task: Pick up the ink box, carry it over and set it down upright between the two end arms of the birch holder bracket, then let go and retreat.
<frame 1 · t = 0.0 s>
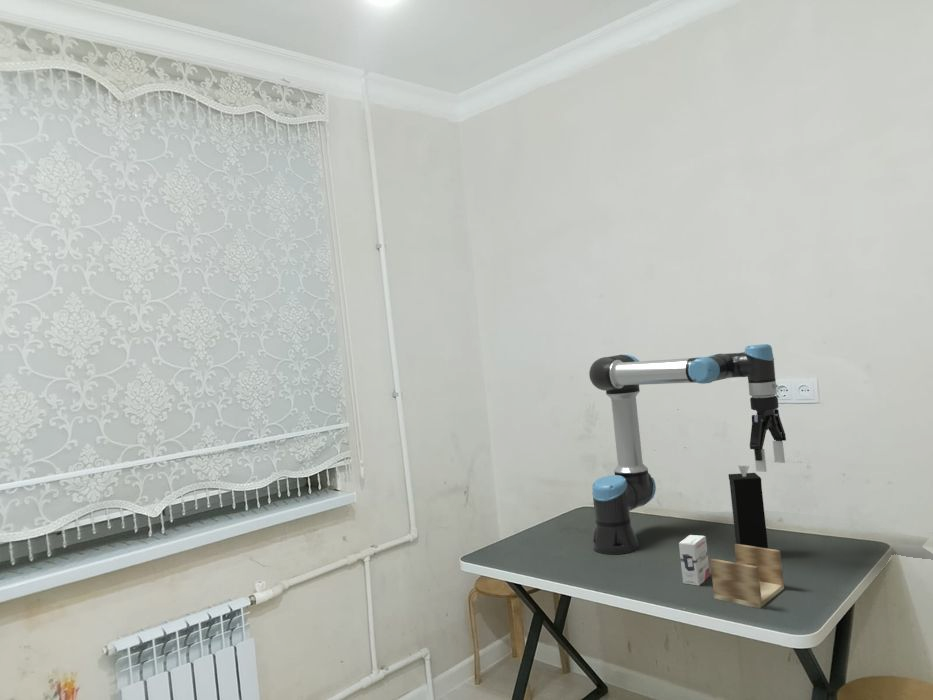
hand: (770, 466, 192), 28 cm above the table, fingers open, 13 cm apart
ink box: (696, 580, 184), on the table
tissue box: (752, 556, 198), on the table
holder: (749, 593, 171), on the table
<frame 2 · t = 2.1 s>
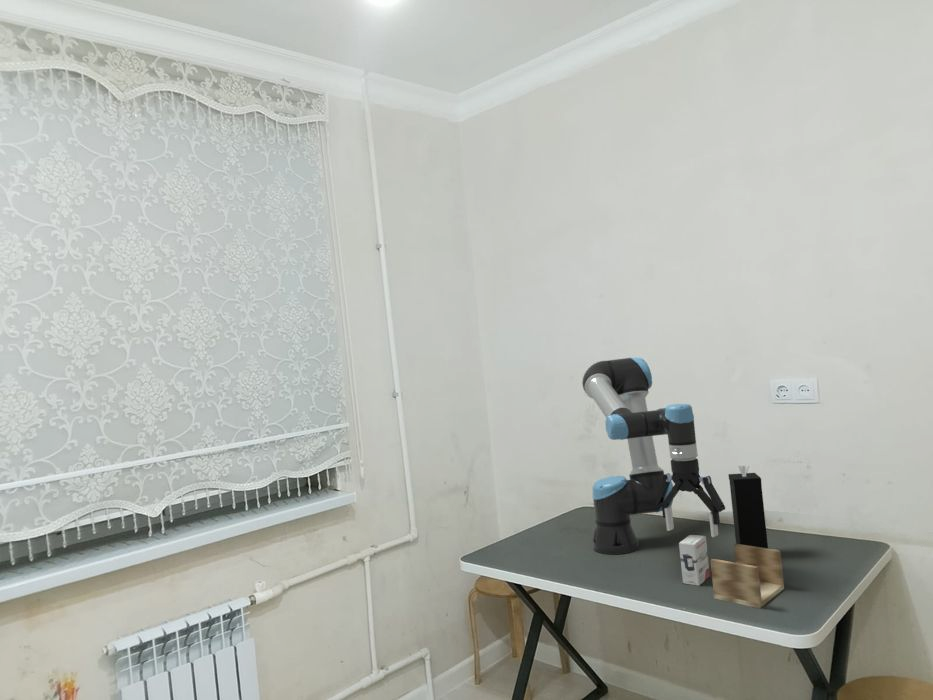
hand: (692, 532, 184), 14 cm above the table, fingers open, 13 cm apart
nothing on the table moved.
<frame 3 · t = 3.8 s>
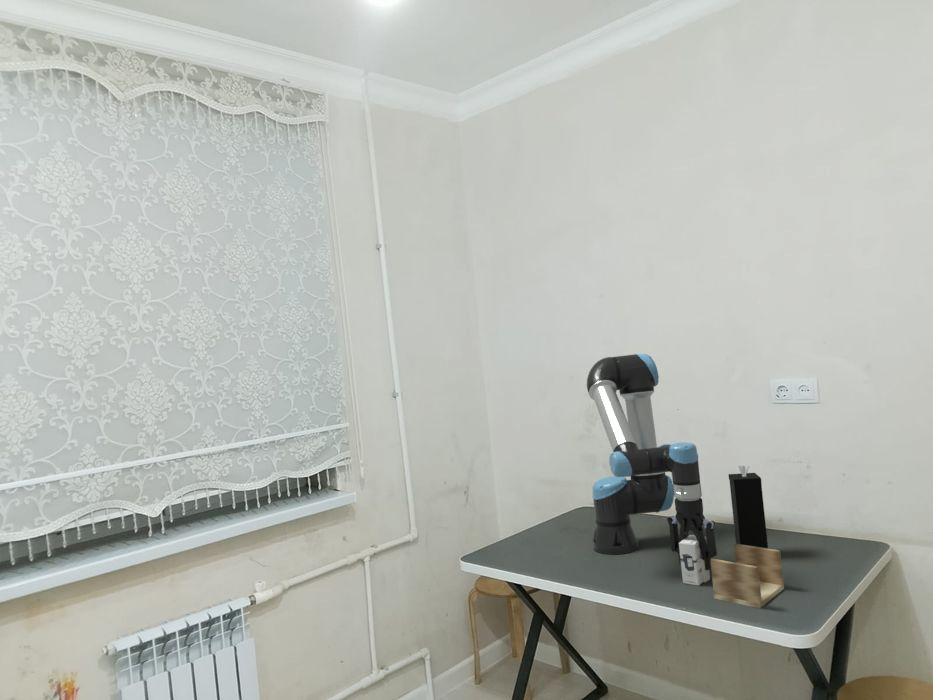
hand: (696, 578, 184), 0 cm above the table, fingers closed on ink box, 5 cm apart
ink box: (696, 580, 184), on the table, touching gripper
everything else where it was.
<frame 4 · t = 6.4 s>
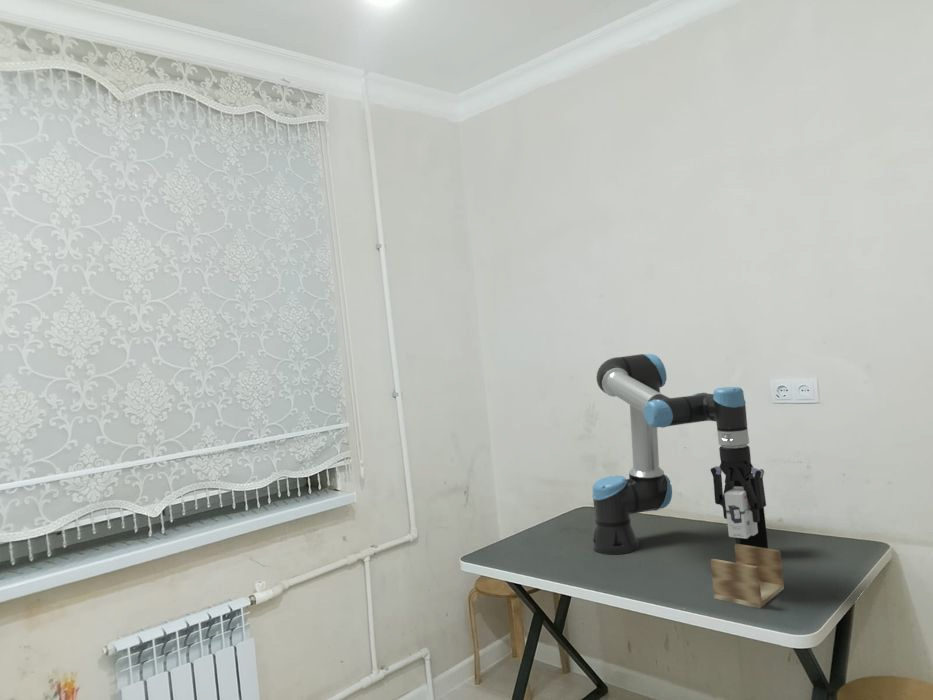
hand: (743, 532, 171), 16 cm above the table, fingers closed on ink box, 5 cm apart
ink box: (743, 534, 171), point 16 cm above the table, touching gripper
everything else where it was.
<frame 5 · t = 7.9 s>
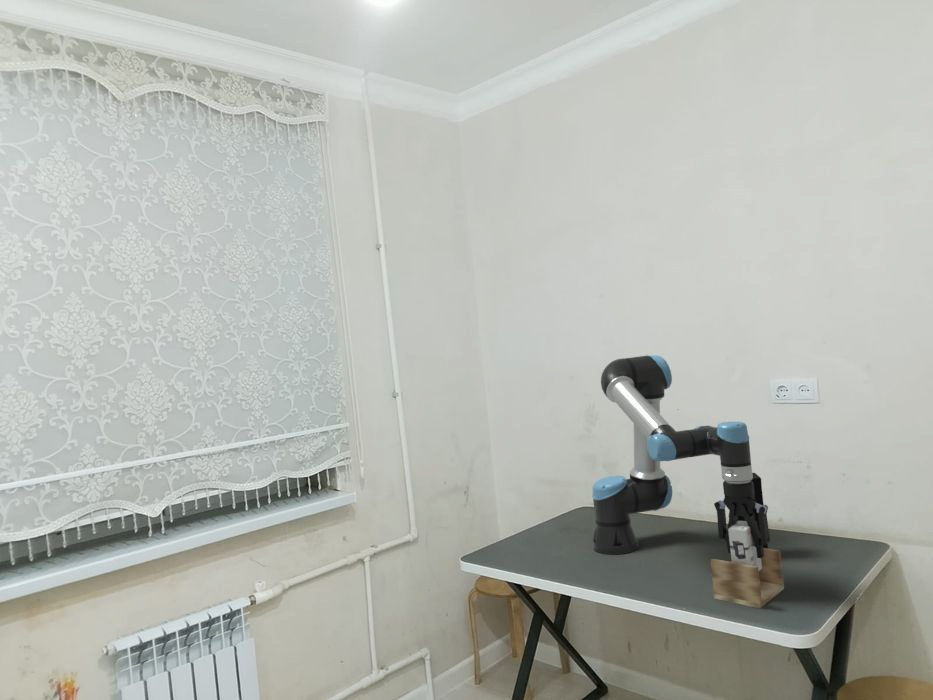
hand: (747, 567, 171), 7 cm above the table, fingers closed on ink box, 5 cm apart
ink box: (747, 569, 171), point 6 cm above the table, touching gripper
everything else where it was.
when the fingers open (3 cm above the table, at t = 9.0 s): ink box drops 2 cm, resting on holder.
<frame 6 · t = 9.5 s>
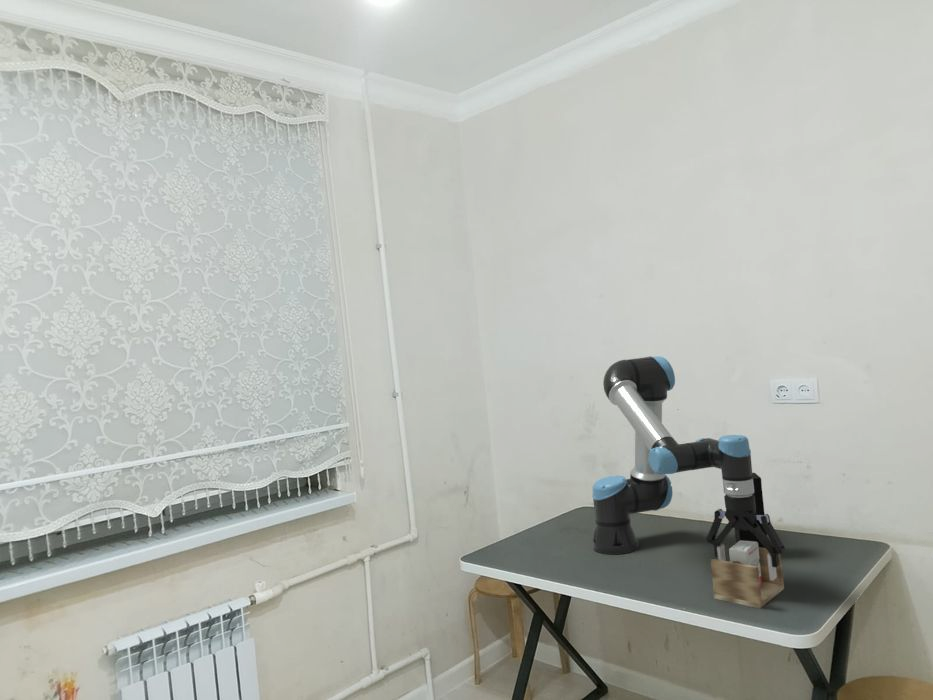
hand: (747, 574, 171), 5 cm above the table, fingers open, 13 cm apart
ink box: (748, 589, 171), point 1 cm above the table, touching holder
everything else where it was.
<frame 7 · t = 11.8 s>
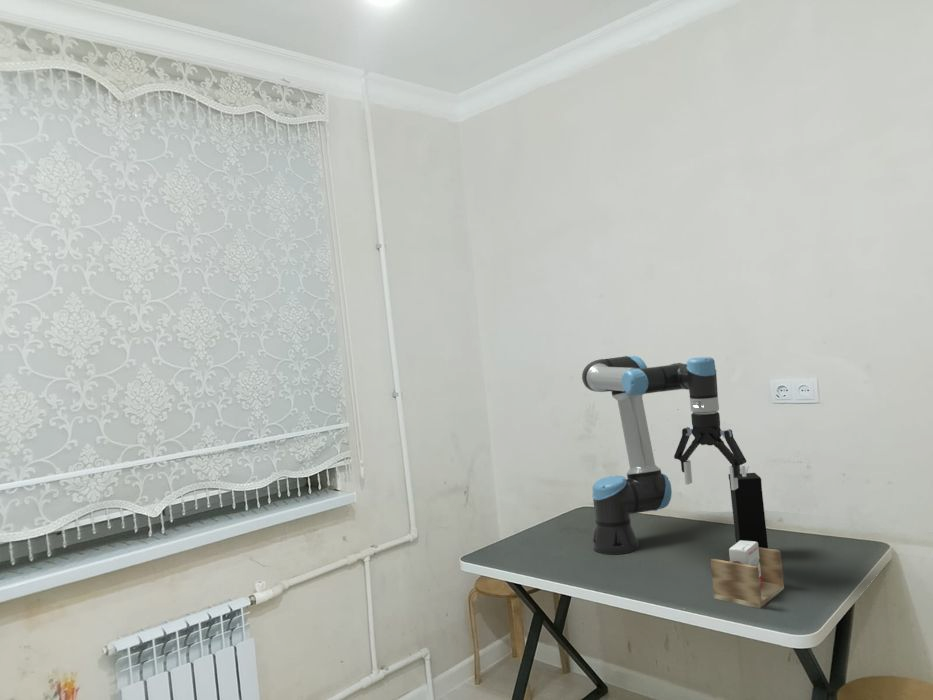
hand: (711, 486, 183), 26 cm above the table, fingers open, 13 cm apart
nothing on the table moved.
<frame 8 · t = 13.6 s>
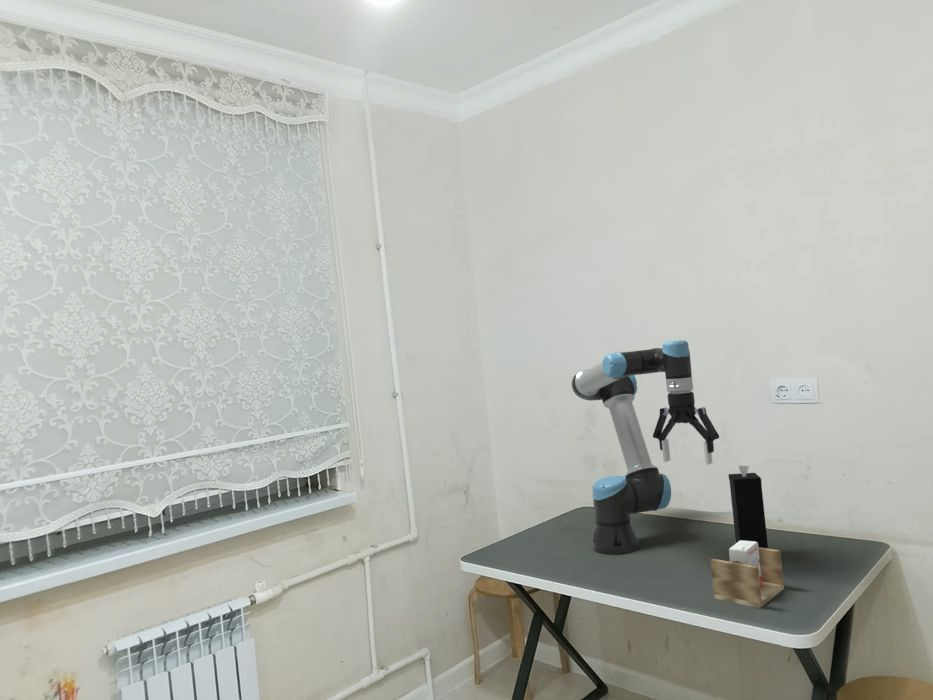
hand: (687, 462, 193), 32 cm above the table, fingers open, 13 cm apart
nothing on the table moved.
at the end: ink box inside the target area on the holder (0.3 cm from its centre), point 1.0 cm above the holder's base; ink box tilted 0°; the gripper is holding nothing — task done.
